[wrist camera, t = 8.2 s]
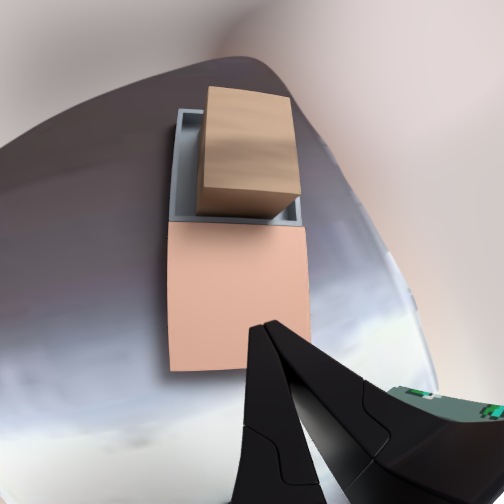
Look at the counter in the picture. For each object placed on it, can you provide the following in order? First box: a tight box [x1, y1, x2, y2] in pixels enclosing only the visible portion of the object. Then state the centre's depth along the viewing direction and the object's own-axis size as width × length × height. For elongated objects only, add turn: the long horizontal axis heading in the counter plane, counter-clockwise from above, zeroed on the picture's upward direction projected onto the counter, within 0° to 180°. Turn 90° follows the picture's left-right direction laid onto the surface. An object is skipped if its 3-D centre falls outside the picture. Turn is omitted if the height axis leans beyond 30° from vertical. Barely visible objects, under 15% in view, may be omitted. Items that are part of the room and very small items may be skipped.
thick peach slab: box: [167, 222, 311, 371], centre depth 21 cm, size 10×10×2 cm
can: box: [387, 386, 504, 422], centre depth 16 cm, size 6×6×15 cm
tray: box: [169, 109, 302, 227], centre depth 23 cm, size 10×10×2 cm
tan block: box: [196, 86, 301, 220], centre depth 20 cm, size 6×6×8 cm
